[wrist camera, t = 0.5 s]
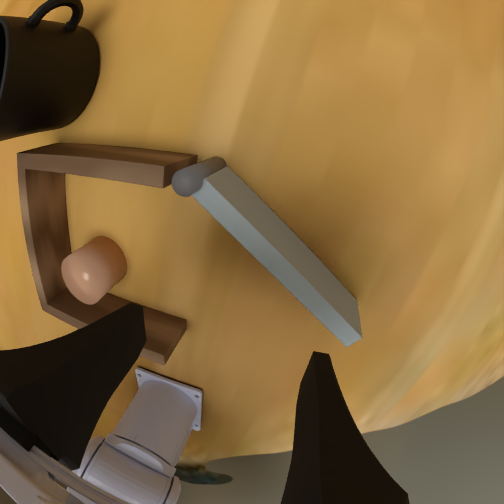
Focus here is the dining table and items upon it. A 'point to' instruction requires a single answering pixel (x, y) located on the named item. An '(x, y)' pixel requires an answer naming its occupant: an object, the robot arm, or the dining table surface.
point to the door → (271, 244)
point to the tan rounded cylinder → (94, 269)
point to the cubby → (57, 236)
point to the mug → (44, 70)
